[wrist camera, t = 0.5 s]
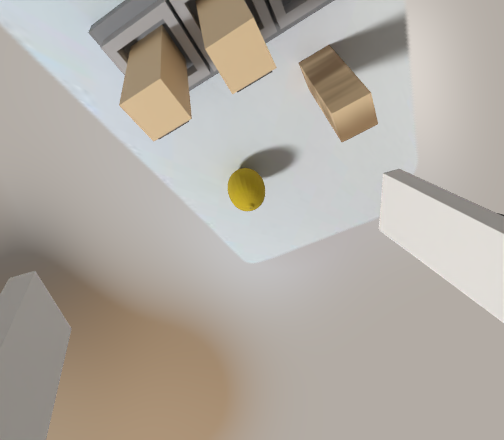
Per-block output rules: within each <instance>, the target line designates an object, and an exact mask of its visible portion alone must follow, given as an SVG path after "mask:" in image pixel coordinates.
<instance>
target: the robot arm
mask: <svg viewBox="0 0 504 440" xmlns="http://www.w3.org/2000/svg"><path fill="white" fill-rule="evenodd" d="M379 230H380V231H381V232H383V233H384V234H385V235H386V236H388V237H389V238H390V239H392V240H393V241H394V242H396V243H397V244H399V245H400V246H401V247H402V248H404V249H405V250H407V251H408V252H409V253H410V254H412V255H413V256H415V257H416V258H417V259H419V260H420V261H421V262H423V263H424V264H425V265H427V266H428V267H429V268H431V269H432V270H433V271H435V272H436V273H437V274H439V275H440V276H441V277H443V278H444V279H446V280H447V281H448V282H449V283H451V284H452V285H453V286H455V287H456V288H457V289H459V290H460V291H461V292H463V293H464V294H465V295H467V296H468V297H470V298H471V299H472V300H474V301H475V302H476V303H478V304H479V305H480V306H482V307H483V308H484V309H486V310H487V311H488V312H490V313H491V314H492V315H494V316H495V317H496V318H498V319H499V320H500V321H502V322H503V323H504V215H502V214H499V213H495V212H493V211H491V210H489V209H486V208H484V207H482V206H480V205H478V204H475V203H473V202H471V201H469V200H467V199H464V198H462V197H460V196H457V195H456V194H454V193H451V192H449V191H447V190H445V189H442V188H440V187H438V186H436V185H434V184H432V183H429V182H427V181H425V180H423V179H420V178H418V177H416V176H414V175H412V174H410V173H408V172H405V171H403V170H401V169H397V170H393V171H390V172H386V173H383V183H382V196H381V208H380V222H379ZM70 332H71V327H70V325H69V324H68V322H67V321H66V319H65V317H64V316H63V315H62V313H61V311H60V310H59V308H58V306H57V305H56V303H55V302H54V300H53V298H52V297H51V295H50V294H49V292H48V290H47V289H46V287H45V286H44V284H43V283H42V281H41V279H40V278H39V276H38V275H37V273H36V271H33V272H30V273H26V274H23V275H19V276H16V277H12V278H9V280H8V282H7V284H6V285H5V287H4V289H3V291H2V292H1V294H0V440H46V437H47V433H48V429H49V424H50V420H51V415H52V411H53V407H54V402H55V398H56V394H57V389H58V385H59V381H60V376H61V372H62V367H63V363H64V359H65V354H66V350H67V346H68V341H69V336H70Z"/></svg>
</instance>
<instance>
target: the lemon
mask: <svg viewBox="0 0 504 440" xmlns="http://www.w3.org/2000/svg"><path fill="white" fill-rule="evenodd" d="M228 194H229V197H230V199H231V201H232V203H233V204H234V205H235V206H236V207H237V208H238V209H240V210H243V211H252V210H255V209H257V208H258V207H259V206H260V205H261V204H262V202H263V200H264V197H265V185H264V182H263V180H262V178H261V176H260V175H259V174H258V173H257V172H256V171H254V170H252V169H249V168H242V169H239V170H237V171H235V172H234V173H233V174H232V175H231V177H230V179H229V181H228Z"/></svg>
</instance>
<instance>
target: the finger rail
mask: <svg viewBox="0 0 504 440" xmlns="http://www.w3.org/2000/svg"><path fill="white" fill-rule="evenodd" d="M332 1H334V0H125V1H124V2H122V3H121V4H120V5H118V6H117V7H116V8H114V9H113V10H112V11H110V12H109V13H108V14H106V15H105V16H104V17H102V18H101V19H100V20H98V21H97V22H96V23H94V24H93V25H92V26H91V28H90V30H89V32H88V33H89V34H90V35H91V36H92V37H93V38H94V40H95V41H96V42H97V43H98V44H99V45H100V47H101V49H102V50H103V51H104V52H105V53H106V54H107V55H108V57H109V58H110V59H111V60H112V61H113V62H114V64H115V65H116V66H117V67H118V68H119V69H120V71H121V72H122V73H123V74H124V75H125V78H124V83H123V88H122V93H121V98H120V104H119V106H120V107H121V108H122V109H123V110H124V111H125V112H126V113H127V114H128V115H129V116H130V117H131V118H132V119H133V120H134V121H135V122H136V124H137V125H138V126H139V127H140V128H141V129H142V130H143V131H144V132H145V133H146V134H147V135H148V136H149V137H150V138H151V139H152V140H153V141H155V140H157V139H161V138H162V137H164V136H166V135H167V134H169V133H171V132H172V131H174V130H176V129H177V128H179V127H181V126H182V125H184V124H186V123H187V122H189V120H190V119H192V117H191V106H190V96H189V91H190V90H192V89H193V88H195V87H197V86H198V85H200V84H201V83H203V82H205V81H206V80H208V79H209V78H211V77H213V76H214V75H216V74H217V73H220V75H221V76H222V78H223V79H224V81H225V83H226V84H227V86H228V88H229V89H230V91H231V93H232V94H234V93H235V92H239V91H241V90H243V89H244V88H246V87H248V86H249V85H251V84H253V83H254V82H256V81H258V80H259V79H261V78H263V77H264V76H266V75H268V74H269V73H271V72H272V70H274V69H275V68H276V65H275V63H274V61H273V59H272V57H271V54H270V52H269V50H268V48H267V46H266V43H267V42H268V41H270V40H272V39H273V38H275V37H276V36H278V35H280V34H281V33H283V32H284V31H286V30H288V29H289V28H291V27H292V26H294V25H296V24H297V23H299V22H300V21H302V20H304V19H305V18H307V17H308V16H310V15H312V14H313V13H315V12H316V11H318V10H320V9H321V8H323V7H324V6H326V5H328V4H329V3H331V2H332Z"/></svg>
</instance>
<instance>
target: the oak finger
mask: <svg viewBox="0 0 504 440" xmlns="http://www.w3.org/2000/svg"><path fill="white" fill-rule="evenodd" d="M299 65H300V68H301V70H302V73H303V75H304V78H305V80H306V83H307V85H308V88H309V90H310V92H311V93H312V95H313V97H314V98H315V100H316V102H317V103H318V105H319V106H320V108H321V110H322V111H323V113H324V114H325V116H326V118H327V119H328V121H329V123H330V124H331V126H332V127H333V129H334V131H335V132H336V134H337V135H338V137H339V139H340V140H341V142H344V141H346V140H348V139H350V138H352V137H354V136H356V135H358V134H360V133H362V132H364V131H366V130H368V129H370V128H371V127H373V126H375V125H377V124H378V122H377V117H376V113H375V108H374V104H373V99H372V95H371V92H370V91H369V90H368V89H367V88H366V86H365V85H364V84H363V83H362V82H361V81H360V80H359V78H358V77H357V76H356V75H355V74H354V73H353V72H352V70H351V69H350V68H349V67H348V66H347V65H346V64H345V62H344V61H343V60H342V59H341V58H340V57H339V56H338V54H337V53H336V52H335V51H334V50H333V49H332V48H331V46H330V45H328V46H326V47H325V48H323V49H321V50H320V51H318V52H316V53H314V54H313V55H311V56H309V57H308V58H306V59H304V60H303V61H301V62H299Z"/></svg>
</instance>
